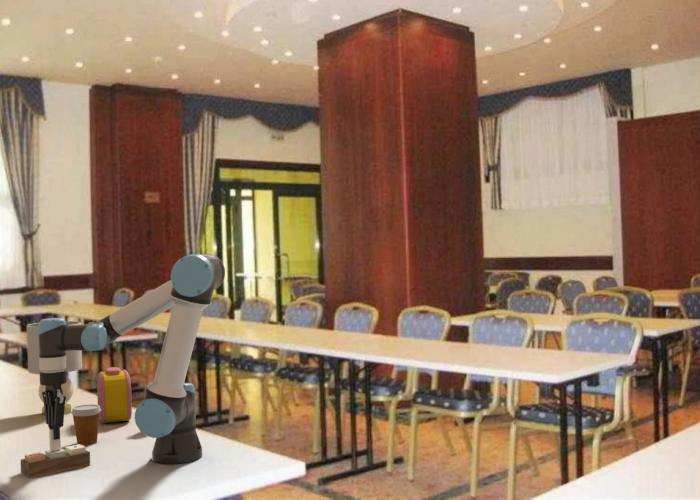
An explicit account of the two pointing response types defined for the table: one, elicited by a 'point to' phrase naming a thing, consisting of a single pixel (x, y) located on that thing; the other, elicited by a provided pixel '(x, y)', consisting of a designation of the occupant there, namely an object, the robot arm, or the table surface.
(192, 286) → the robot arm
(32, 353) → the lamp
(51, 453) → the key two
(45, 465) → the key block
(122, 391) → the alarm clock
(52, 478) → the table surface
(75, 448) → the key one
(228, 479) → the table surface
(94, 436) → the disposable coffee cup
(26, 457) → the key three
